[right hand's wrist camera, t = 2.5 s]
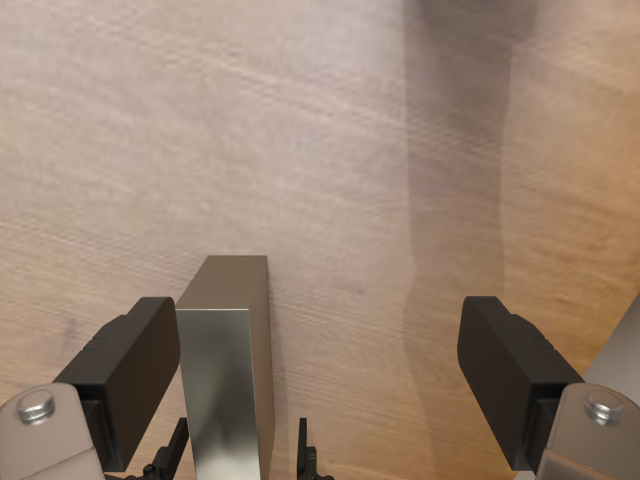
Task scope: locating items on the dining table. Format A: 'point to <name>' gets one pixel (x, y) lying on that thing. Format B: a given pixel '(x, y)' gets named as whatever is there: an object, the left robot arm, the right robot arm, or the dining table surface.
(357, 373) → the dining table surface
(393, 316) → the dining table surface
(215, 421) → the box
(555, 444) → the right robot arm
